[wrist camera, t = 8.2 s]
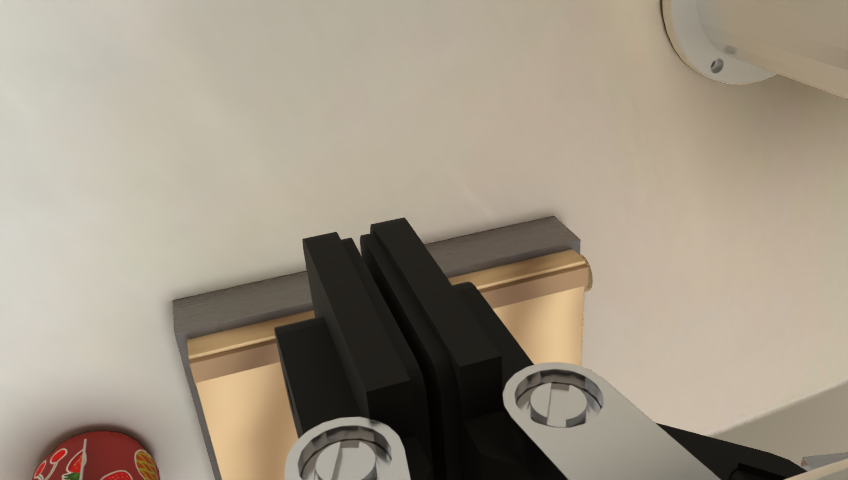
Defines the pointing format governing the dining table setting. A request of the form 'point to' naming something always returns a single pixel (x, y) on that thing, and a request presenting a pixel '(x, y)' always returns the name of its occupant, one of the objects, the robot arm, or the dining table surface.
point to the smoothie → (98, 459)
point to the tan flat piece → (256, 344)
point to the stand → (295, 297)
